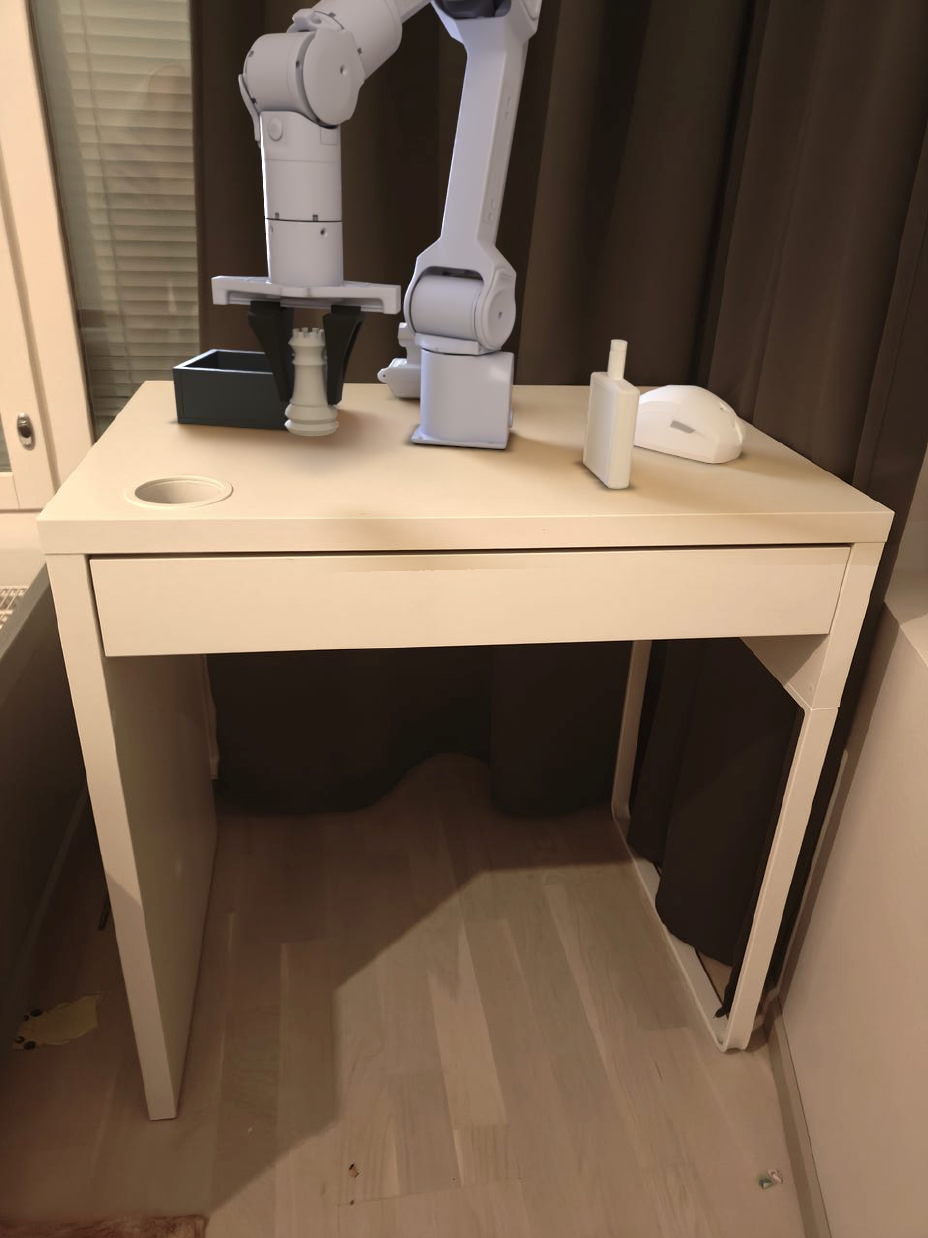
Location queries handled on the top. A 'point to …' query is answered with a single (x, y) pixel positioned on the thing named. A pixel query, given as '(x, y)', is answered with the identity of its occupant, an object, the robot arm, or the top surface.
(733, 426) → the computer mouse
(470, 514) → the top surface
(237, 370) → the storage bin
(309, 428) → the rook chess piece
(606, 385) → the perfume bottle
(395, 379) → the white mechanical part
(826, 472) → the top surface
